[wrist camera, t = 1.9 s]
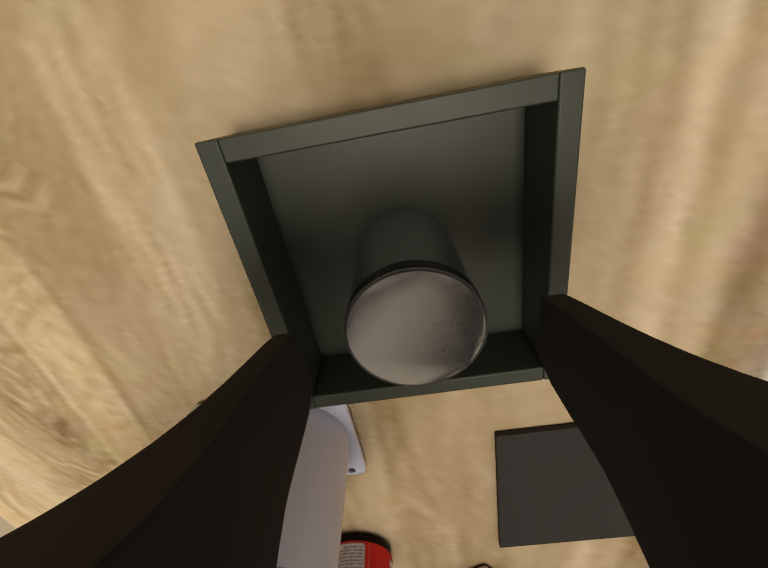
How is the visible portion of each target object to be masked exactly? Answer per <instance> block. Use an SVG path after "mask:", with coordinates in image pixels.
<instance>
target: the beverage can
mask: <svg viewBox="0 0 768 568" xmlns="http://www.w3.org/2000/svg"><path fill="white" fill-rule="evenodd" d="M392 564H393V563H392V555H391V552H390V550H389V547H388V546H387V545H386V544H385V543H384V542H383V541H382V540H380V539H378V538H376V537H373V536H369V535H363V534H351V535H345V536H341V542H340V552H339V562H338V568H392Z"/></svg>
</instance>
